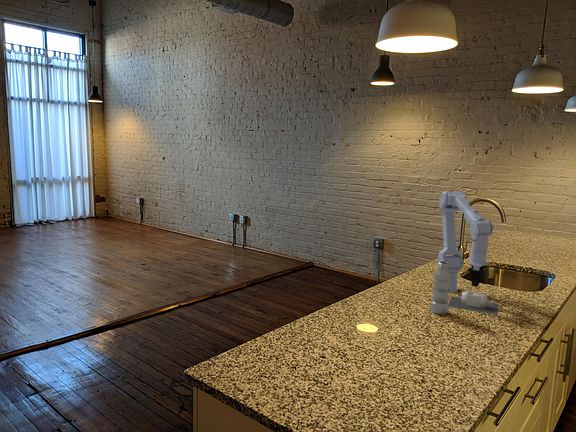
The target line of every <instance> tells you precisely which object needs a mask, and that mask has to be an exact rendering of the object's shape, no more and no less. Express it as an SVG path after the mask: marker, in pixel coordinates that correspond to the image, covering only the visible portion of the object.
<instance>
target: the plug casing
mask: <svg viewBox="0 0 576 432" xmlns="http://www.w3.org/2000/svg"><path fill="white" fill-rule="evenodd" d="M460 298H461V304H463V305H466V306H472V307H477V308H486V304H489V305H493V303H494V300H491V299H488V295H487V294H483V293H478V292H472V291H465V290H464V291H461V297H460Z"/></svg>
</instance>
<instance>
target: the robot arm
mask: <svg viewBox="0 0 576 432" xmlns="http://www.w3.org/2000/svg"><path fill="white" fill-rule="evenodd" d="M467 198H468V197H467V194H466V193H465V192H464V191H446V190H444V191H442V192H441V193H440V195H439V198H438V201H439V203H438V204H439V211H441V219H442V237H443V238H442V239H443V249H441V250H440V251H439V252H438V254H437V260H436V264H437V266H438V263H439V262H448V263H449V268H448V270H449V272H450V273H451V276H452V279H451V283H450V287H449V292H451V293H455V294H457V291H458V290H459V287H458V286H457V285H458V276H459V275H458V274H459V272H460V271H461V270H462V268H463V267H464V259H463V256H462V252H461V251H460V250H458V249H457V243H456V241H457V238H456V226H455V225H456V224H455V223H456V221H455V213H456V212H458V211H459V210H460V211H461V212H462V213H463V214H464V215H463V218H464V220H465V221H466V223H467V224H468V225H469V226H470V227H469V228H470V229H469V230H470V234H471V236H470V238H471V239H472V241H471V251H470V259H469V264H470V267H468V272H469V274H470V278H471V287H475V288H478V287H479V285H480V281H481V278H482V276H483V274H484V273H485V268H486V266H489V265H490V262H488V261H487V255H488V246H489V237H490V235H492V233H493V231H494V230H493V229H494V225H493V223H492V222H491V220H488V219H484V217H483V216H482V215H481V214H480V212H479V211H478V209H476V208H472V207H471V205H470V203H469V202H468V201H467ZM437 269H438V268H436V270H437ZM436 270H435V271H436Z"/></svg>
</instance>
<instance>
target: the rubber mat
mask: <svg viewBox="0 0 576 432" xmlns="http://www.w3.org/2000/svg"><path fill="white" fill-rule="evenodd" d="M461 298H462V297H459V296H453V295H451V298H450V300H449V301H448V303H449V308H455V309H456V308H457V309H461V310H466V311H473V312H478V313H482V314H489V315H496V316H498V313H499V303H494V302H493V305H489V304H486V308H477V307H472V306H466V305H463V304H461Z"/></svg>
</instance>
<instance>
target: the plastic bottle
mask: <svg viewBox="0 0 576 432" xmlns="http://www.w3.org/2000/svg"><path fill="white" fill-rule="evenodd" d="M437 267H438V268H436V269H437V270H435V272H434V273H433V276H432V277H433V292H432V293H433V294H432V298H431V302H430V307H429V308H430V310H431V312H432V313H433V314H436V315H446V314H447V313H448V312H449V309H450V307H449V287H450V283H451V279H452V276H451V273H450V272H449V270H448V268H449V263H448V262H439V263H438V265H437Z"/></svg>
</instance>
